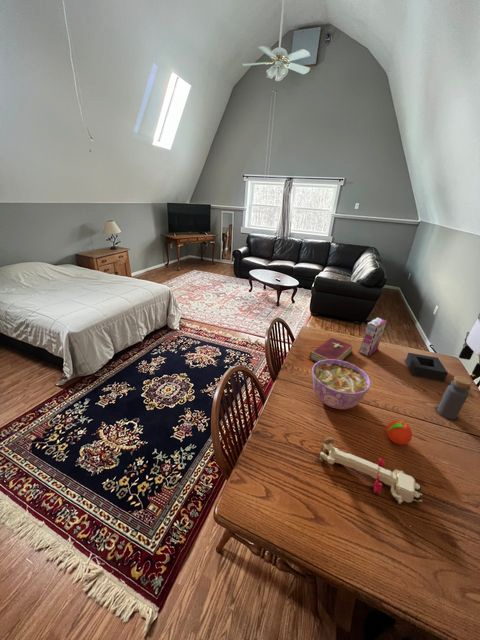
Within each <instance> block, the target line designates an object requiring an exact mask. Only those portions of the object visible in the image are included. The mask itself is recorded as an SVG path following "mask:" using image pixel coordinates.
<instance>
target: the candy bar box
mask: <svg viewBox="0 0 480 640" xmlns="http://www.w3.org/2000/svg"><path fill="white" fill-rule="evenodd" d="M386 324H387V320H386V319H383V318H381V317H376V318H374V319H372V320H370V321H369V322H367V324H366V327H365V332H364V334H363V338H362V341H361V344H360V347H359V351H358V353H359V354H362V355H364V356H366V357H369V356H371V355H372V354H373V353H374V352H376V351H377V350H378V349H379V347H380V346H379V345H380V343H381V341H382V336H383V333H384V331H385V327H386Z"/></svg>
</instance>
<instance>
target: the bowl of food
mask: <svg viewBox="0 0 480 640" xmlns="http://www.w3.org/2000/svg"><path fill="white" fill-rule="evenodd" d="M311 376H312V387H313V392H314V393H315V395H316V397H317V398H318V400H319V401H320V402H321V403H323V404H324V405H326V406H328V407H330V408H332V409H336V410H348V409H352V408H354V407H356V406H357V405H358V404H359V403H360V402H361V401H362V399H363V398H364V396H365V395H366V394H367V393H368V391H369V390H370V387H371V385H372V382H371V378H370V376H369V374H367V372H366V371H364V369H361V368H360V367H358V366H357V365H355V364H353V363H351V362H348V361H345V360H343V361H341V360H335V359H326V360H321V361H319V362H315V363H314V365H312V369H311Z"/></svg>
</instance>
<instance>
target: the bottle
mask: <svg viewBox="0 0 480 640" xmlns="http://www.w3.org/2000/svg"><path fill="white" fill-rule="evenodd" d="M472 384H473V382H472V381H471V380H470V379H469V378H467V377H465V376H462V375H455V376H454V378H453V379H452V380H451V381H450V384H449V385H447V387H446V389H445V391H444V393H443V395H442V398H441V400H440V402H439V404H438V406H437V409H436V412H437V413H438V414H439V415H440V416H441V417H443V418H446V419H448V420H456V419H457V418H458V416H459V414H460V412H461V410H462V408H463V407H464V404H465V402H466V401H467V399H468V396H469V391H470V390H471V386H472Z"/></svg>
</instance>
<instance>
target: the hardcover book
mask: <svg viewBox="0 0 480 640" xmlns="http://www.w3.org/2000/svg"><path fill="white" fill-rule="evenodd" d="M354 346H355V345H354V344H351V343H350V342H346V341H343V340H340V339H338V338H336V337H334V336H331V337H330V338H328V339H327V340H325V341H324V342H323V343H321V344H320V345H319V346H317V347H316V348H315V349H313V350H312V351H310V353H309V360H310V361H313V362H315V363H317V362H319V361H321V360H326V359H335V360H341V361H345V360H346V359H347V358H348V357H349V356H350V355H351V354H352V353H353V348H354Z"/></svg>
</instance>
